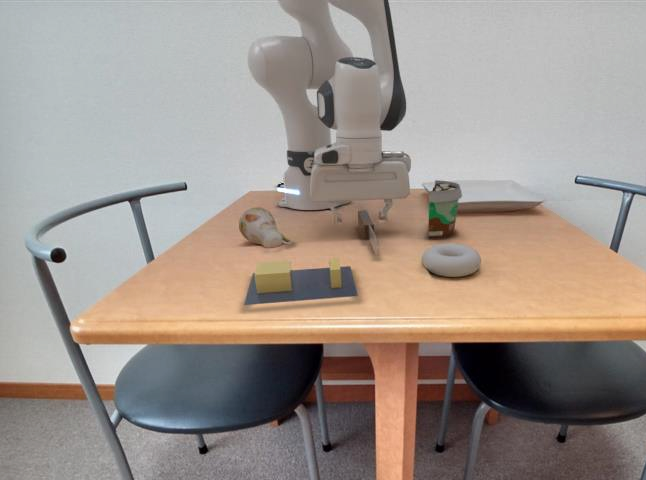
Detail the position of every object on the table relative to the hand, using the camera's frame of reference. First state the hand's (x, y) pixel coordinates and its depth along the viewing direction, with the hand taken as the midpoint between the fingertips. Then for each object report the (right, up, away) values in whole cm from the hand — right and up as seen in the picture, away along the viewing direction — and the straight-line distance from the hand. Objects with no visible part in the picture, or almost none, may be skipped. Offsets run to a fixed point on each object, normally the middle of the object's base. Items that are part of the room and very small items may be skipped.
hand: (360, 220), depth 91 cm
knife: (+2, -5, -3) cm, 6 cm away
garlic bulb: (-18, -6, -5) cm, 20 cm away
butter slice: (-3, -14, -24) cm, 28 cm away
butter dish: (-8, -15, -24) cm, 29 cm away
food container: (+18, -2, +2) cm, 18 cm away
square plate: (+30, +9, +26) cm, 41 cm away
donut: (+16, -11, -17) cm, 26 cm away
